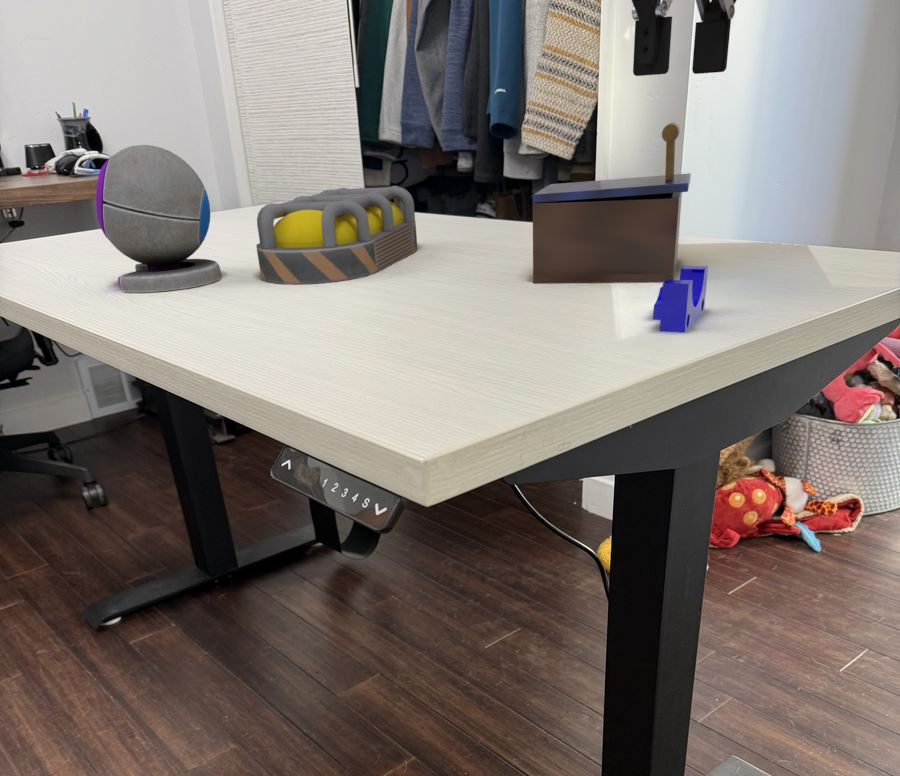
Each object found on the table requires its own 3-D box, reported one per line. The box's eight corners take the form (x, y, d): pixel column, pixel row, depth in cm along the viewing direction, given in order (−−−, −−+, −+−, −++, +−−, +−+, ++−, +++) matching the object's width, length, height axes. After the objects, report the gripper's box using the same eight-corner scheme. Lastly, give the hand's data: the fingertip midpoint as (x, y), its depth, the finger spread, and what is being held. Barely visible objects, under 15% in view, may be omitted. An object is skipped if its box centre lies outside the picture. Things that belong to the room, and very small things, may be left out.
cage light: (426, 182, 119) (346, 206, 94) (430, 244, 123) (354, 283, 98) (328, 186, 122) (226, 210, 98) (335, 246, 126) (239, 284, 102)
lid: (690, 181, 94) (692, 119, 91) (687, 191, 84) (690, 123, 81) (550, 191, 98) (548, 133, 95) (532, 203, 88) (530, 138, 85)
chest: (676, 263, 98) (682, 187, 94) (673, 281, 89) (679, 198, 85) (549, 264, 102) (550, 192, 98) (533, 283, 92) (532, 203, 88)
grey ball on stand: (127, 277, 111) (97, 146, 103) (227, 270, 112) (205, 139, 104) (104, 296, 100) (68, 150, 92) (216, 287, 101) (189, 142, 93)
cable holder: (663, 313, 76) (666, 265, 74) (703, 314, 75) (708, 266, 73) (641, 334, 70) (643, 282, 68) (684, 336, 69) (688, 283, 67)
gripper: (683, -214, 60) (665, 72, 69) (794, -175, 71) (766, 69, 79) (594, -187, 65) (588, 78, 73) (711, -154, 75) (693, 74, 84)
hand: (680, 73), depth 76 cm, fingers open, 9 cm apart
